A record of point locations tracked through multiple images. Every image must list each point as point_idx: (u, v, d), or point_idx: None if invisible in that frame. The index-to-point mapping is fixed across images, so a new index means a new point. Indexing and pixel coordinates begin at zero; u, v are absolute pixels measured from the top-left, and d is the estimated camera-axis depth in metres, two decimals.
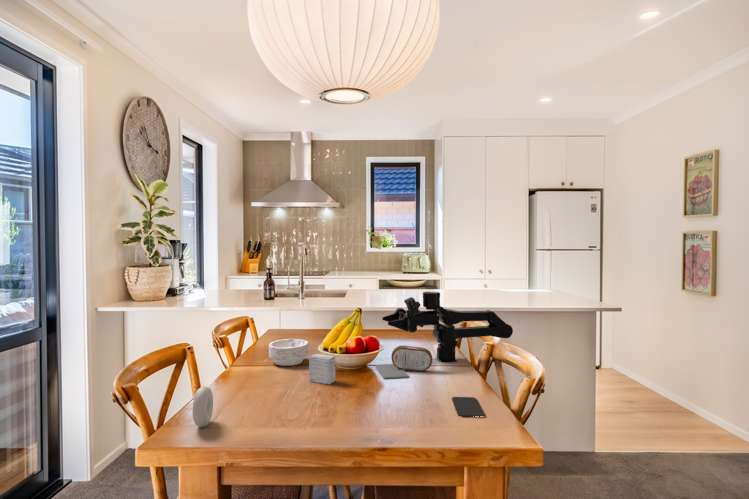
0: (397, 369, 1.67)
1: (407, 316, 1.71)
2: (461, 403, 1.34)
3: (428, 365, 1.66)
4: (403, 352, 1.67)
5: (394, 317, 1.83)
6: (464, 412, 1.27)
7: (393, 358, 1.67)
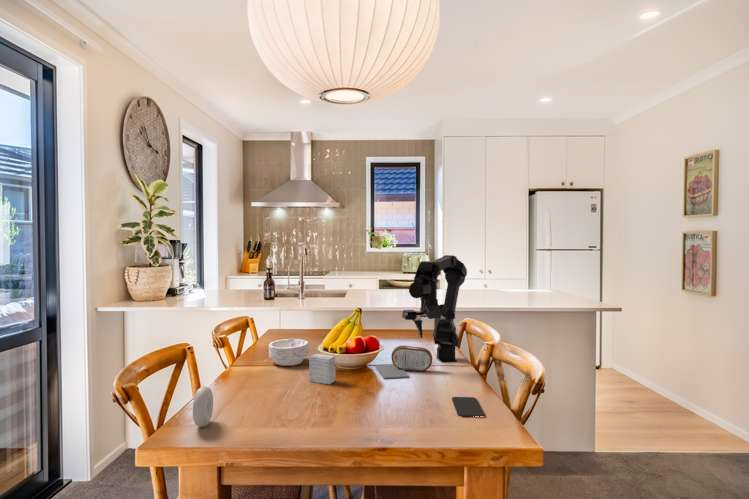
0: (397, 369, 1.67)
1: (446, 320, 1.67)
2: (461, 403, 1.34)
3: (428, 365, 1.66)
4: (403, 352, 1.67)
5: None
6: (464, 412, 1.27)
7: (393, 358, 1.67)
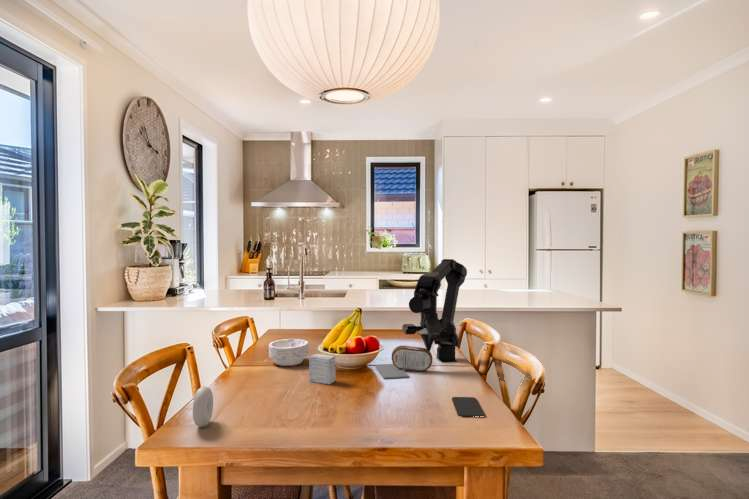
0: (397, 369, 1.67)
1: (439, 334, 1.67)
2: (461, 403, 1.34)
3: (428, 365, 1.66)
4: (403, 352, 1.67)
5: None
6: (464, 412, 1.27)
7: (393, 358, 1.67)
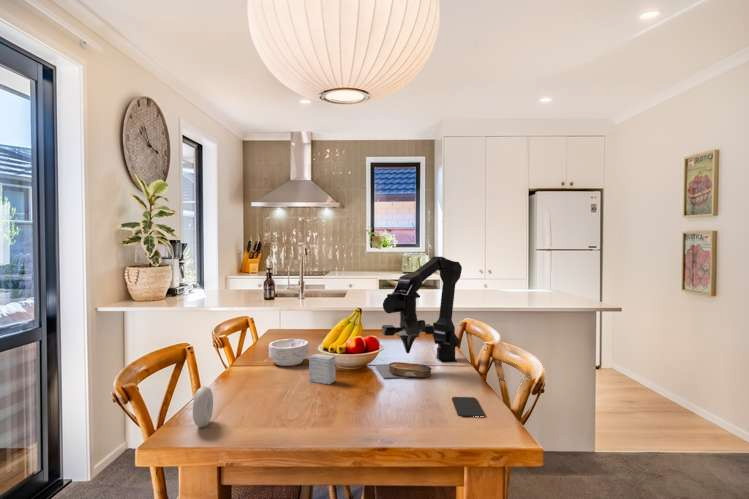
0: None
1: (418, 335, 1.65)
2: (461, 403, 1.34)
3: None
4: None
5: None
6: (464, 412, 1.27)
7: None
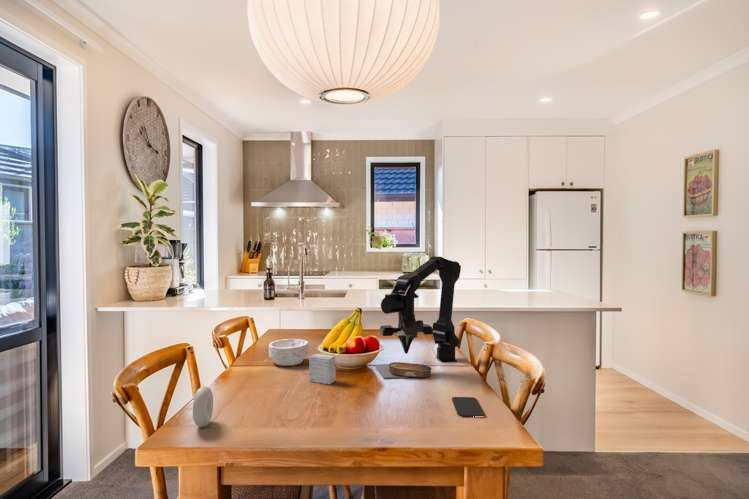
0: None
1: None
2: (461, 403, 1.34)
3: None
4: None
5: None
6: (464, 412, 1.27)
7: None
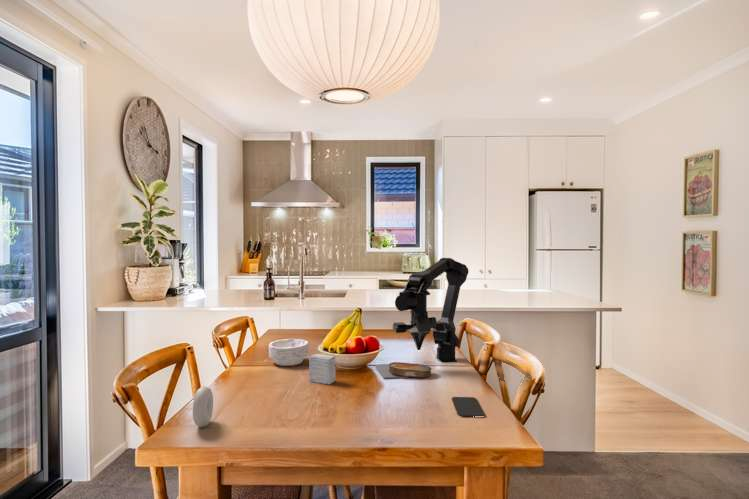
0: None
1: (429, 332, 1.68)
2: (461, 403, 1.34)
3: None
4: None
5: None
6: (464, 412, 1.27)
7: None
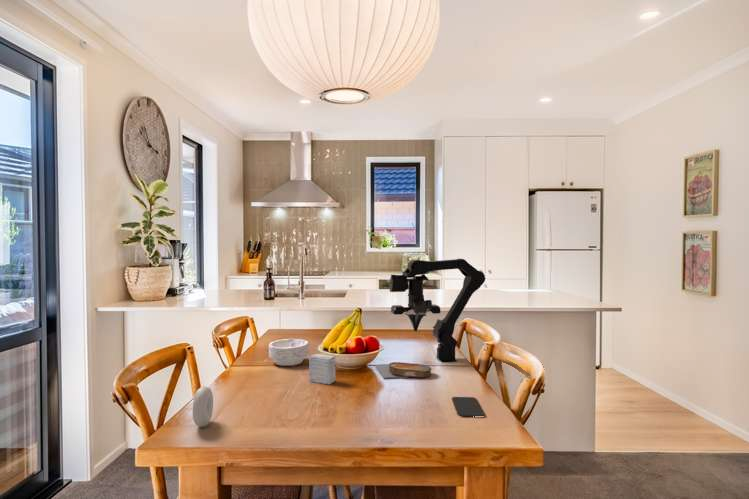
0: None
1: (425, 315, 1.78)
2: (461, 403, 1.34)
3: None
4: None
5: None
6: (464, 412, 1.27)
7: None
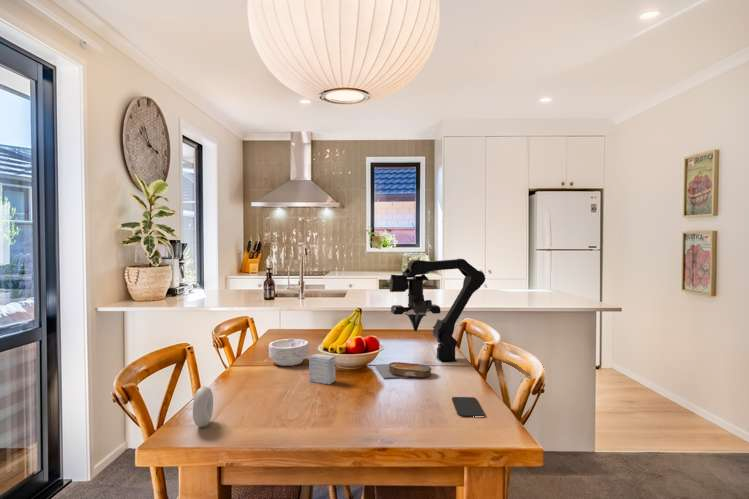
0: None
1: (425, 315, 1.78)
2: (461, 403, 1.34)
3: None
4: None
5: None
6: (464, 412, 1.27)
7: None
